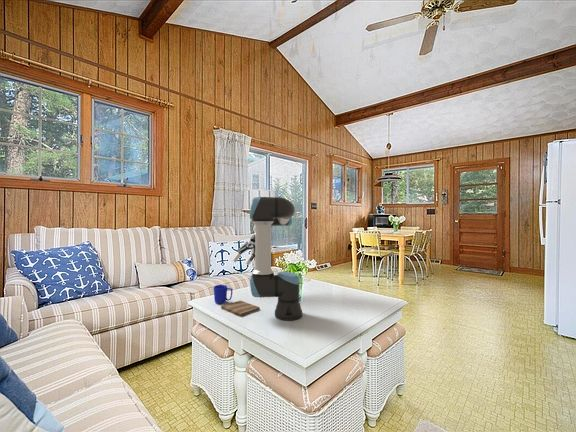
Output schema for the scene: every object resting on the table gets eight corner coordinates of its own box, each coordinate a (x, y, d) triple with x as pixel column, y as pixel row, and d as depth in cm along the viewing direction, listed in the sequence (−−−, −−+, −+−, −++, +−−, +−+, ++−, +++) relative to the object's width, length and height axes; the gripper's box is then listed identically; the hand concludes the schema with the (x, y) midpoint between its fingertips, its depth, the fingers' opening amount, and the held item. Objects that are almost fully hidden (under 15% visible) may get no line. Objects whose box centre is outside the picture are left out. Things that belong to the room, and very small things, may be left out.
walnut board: (259, 309, 161) (259, 307, 161) (240, 316, 151) (240, 313, 151) (240, 302, 173) (240, 300, 173) (221, 308, 163) (221, 306, 163)
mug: (229, 305, 168) (229, 289, 168) (211, 304, 171) (211, 288, 170) (234, 301, 176) (234, 285, 176) (217, 299, 179) (217, 284, 179)
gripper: (272, 243, 187) (255, 268, 177) (248, 240, 204) (232, 263, 193) (267, 235, 183) (249, 261, 173) (243, 233, 200) (225, 256, 189)
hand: (240, 262), depth 183 cm, fingers open, 13 cm apart
